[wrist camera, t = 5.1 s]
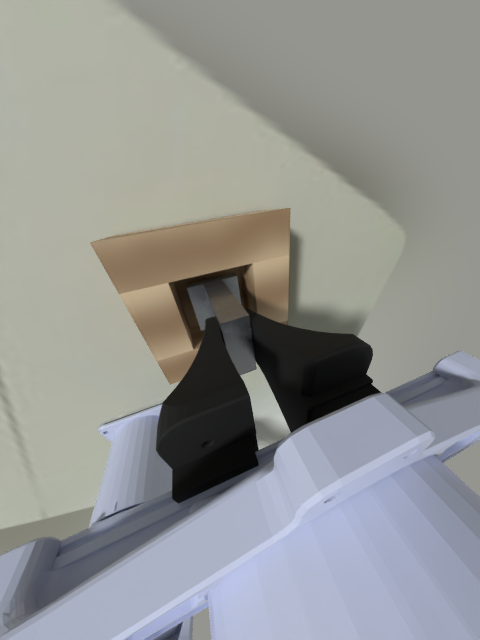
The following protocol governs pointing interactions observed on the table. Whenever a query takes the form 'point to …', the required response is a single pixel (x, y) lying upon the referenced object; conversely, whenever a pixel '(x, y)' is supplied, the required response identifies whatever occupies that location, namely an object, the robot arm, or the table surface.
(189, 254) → the well block
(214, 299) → the grey block
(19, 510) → the table surface
